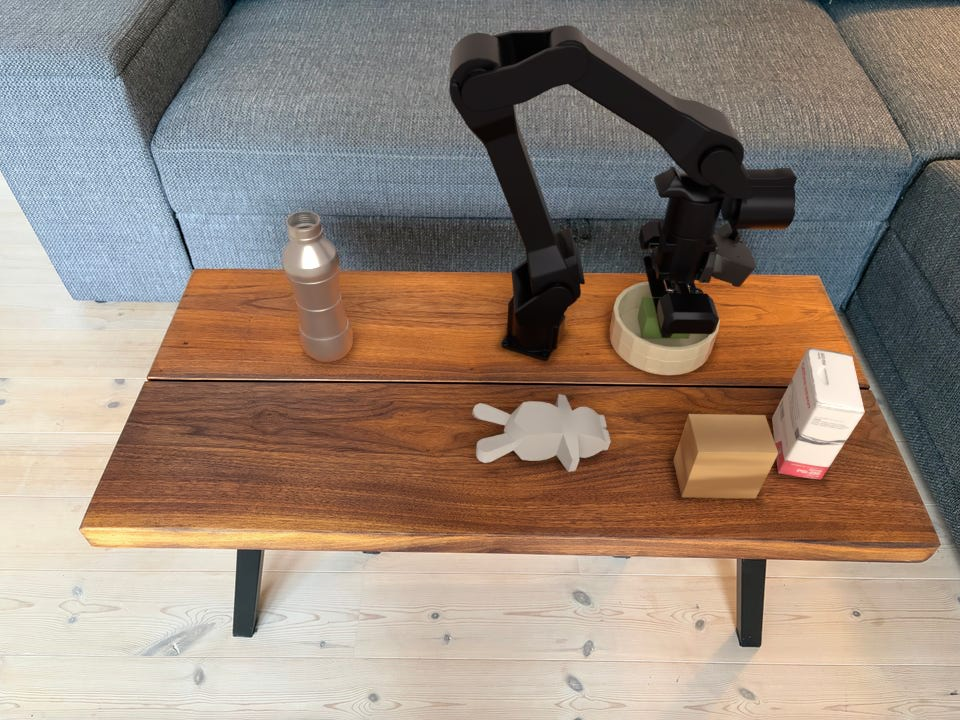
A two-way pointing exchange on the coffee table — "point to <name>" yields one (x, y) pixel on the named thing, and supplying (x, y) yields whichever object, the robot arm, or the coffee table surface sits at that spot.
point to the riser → (724, 456)
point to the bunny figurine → (544, 432)
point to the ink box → (816, 413)
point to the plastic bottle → (316, 288)
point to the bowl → (654, 339)
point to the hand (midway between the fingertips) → (662, 325)
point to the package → (652, 320)
